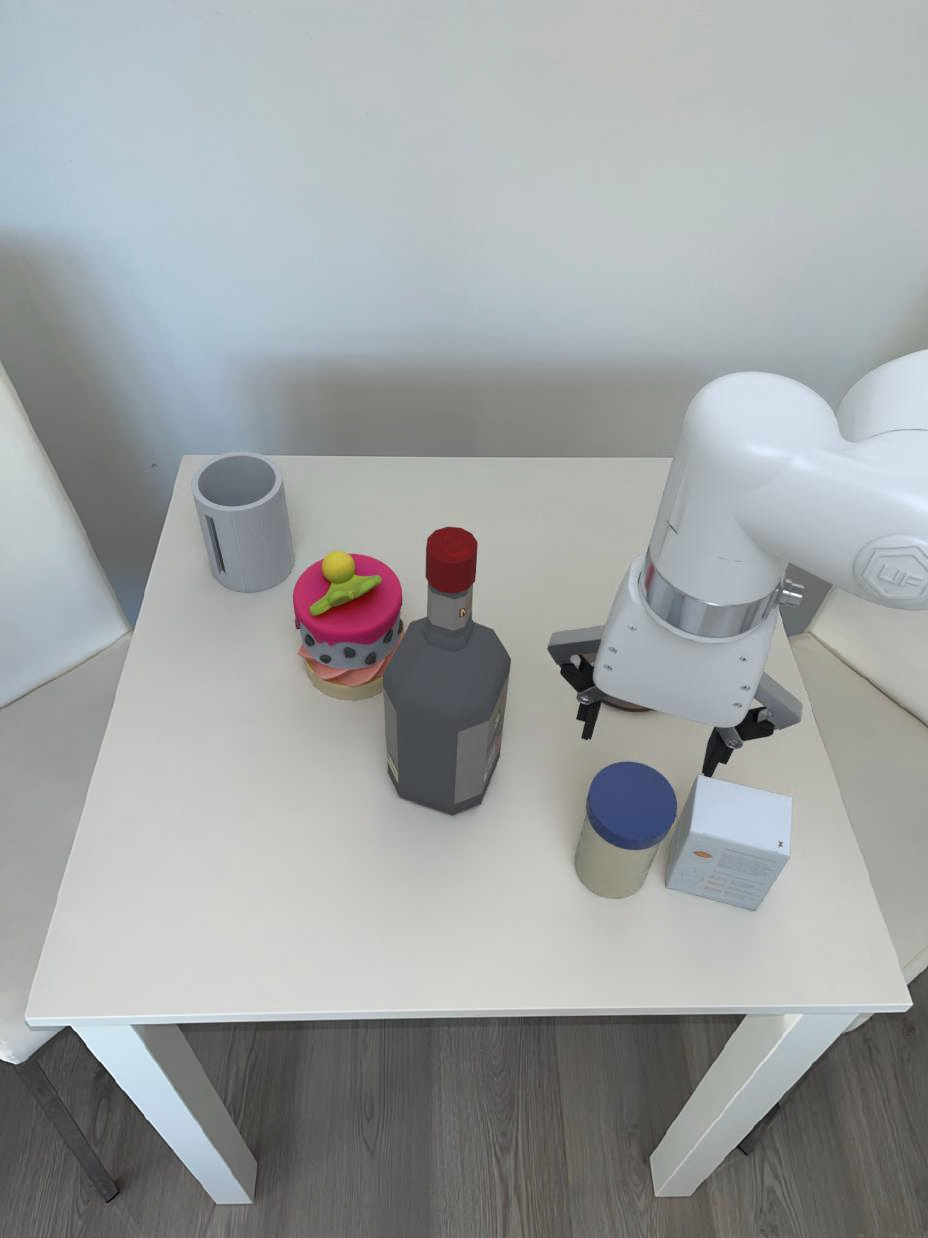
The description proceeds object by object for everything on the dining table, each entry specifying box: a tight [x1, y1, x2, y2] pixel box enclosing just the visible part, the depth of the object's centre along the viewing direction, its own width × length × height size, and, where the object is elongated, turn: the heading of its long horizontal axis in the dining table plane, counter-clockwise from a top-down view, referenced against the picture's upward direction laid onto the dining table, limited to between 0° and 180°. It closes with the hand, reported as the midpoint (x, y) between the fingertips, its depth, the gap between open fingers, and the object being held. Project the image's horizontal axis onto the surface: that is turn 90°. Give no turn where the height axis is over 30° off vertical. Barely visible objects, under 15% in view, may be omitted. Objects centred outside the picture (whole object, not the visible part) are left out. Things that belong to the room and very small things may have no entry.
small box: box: [664, 774, 794, 911], centre depth 78 cm, size 8×6×10 cm
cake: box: [292, 550, 405, 701], centre depth 90 cm, size 10×11×15 cm
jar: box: [573, 812, 662, 900], centre depth 78 cm, size 6×6×11 cm
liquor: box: [383, 526, 512, 816], centre depth 76 cm, size 9×9×30 cm
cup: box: [190, 450, 296, 593], centre depth 100 cm, size 9×9×12 cm
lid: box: [585, 760, 678, 850], centre depth 74 cm, size 7×7×2 cm
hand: (649, 741), depth 67 cm, fingers open, 8 cm apart
